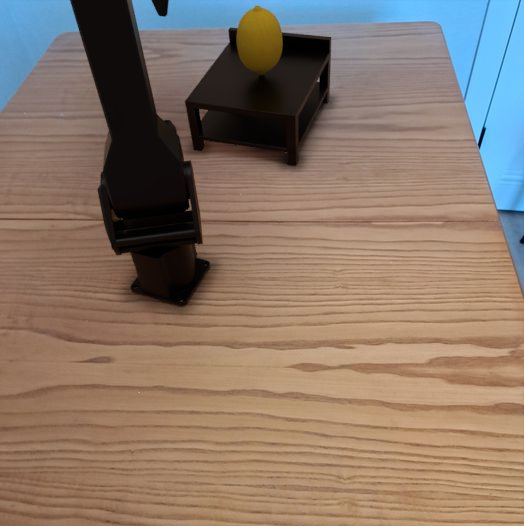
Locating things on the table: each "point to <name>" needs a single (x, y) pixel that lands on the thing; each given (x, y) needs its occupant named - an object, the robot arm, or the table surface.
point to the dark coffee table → (262, 97)
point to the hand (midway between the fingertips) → (144, 32)
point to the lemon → (259, 40)
